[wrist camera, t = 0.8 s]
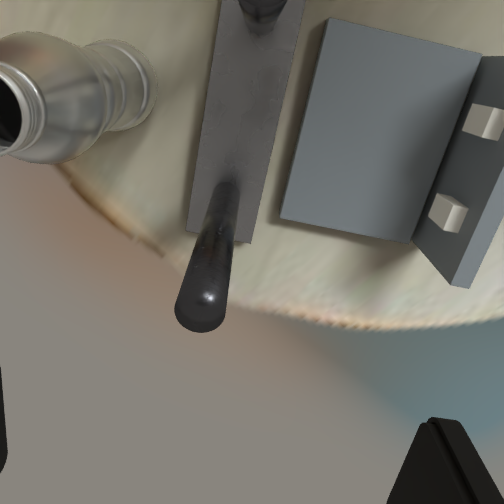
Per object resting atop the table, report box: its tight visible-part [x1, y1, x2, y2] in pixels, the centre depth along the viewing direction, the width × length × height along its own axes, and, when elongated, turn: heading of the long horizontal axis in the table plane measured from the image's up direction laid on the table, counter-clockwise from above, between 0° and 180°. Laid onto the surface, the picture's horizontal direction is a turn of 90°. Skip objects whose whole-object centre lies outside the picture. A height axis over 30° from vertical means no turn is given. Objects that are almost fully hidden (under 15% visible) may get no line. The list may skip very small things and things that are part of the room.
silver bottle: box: [0, 31, 158, 164], centre depth 26 cm, size 6×7×20 cm
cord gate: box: [174, 0, 306, 333], centre depth 27 cm, size 22×6×20 cm, turn 168°
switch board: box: [279, 18, 504, 289], centre depth 33 cm, size 16×14×9 cm
